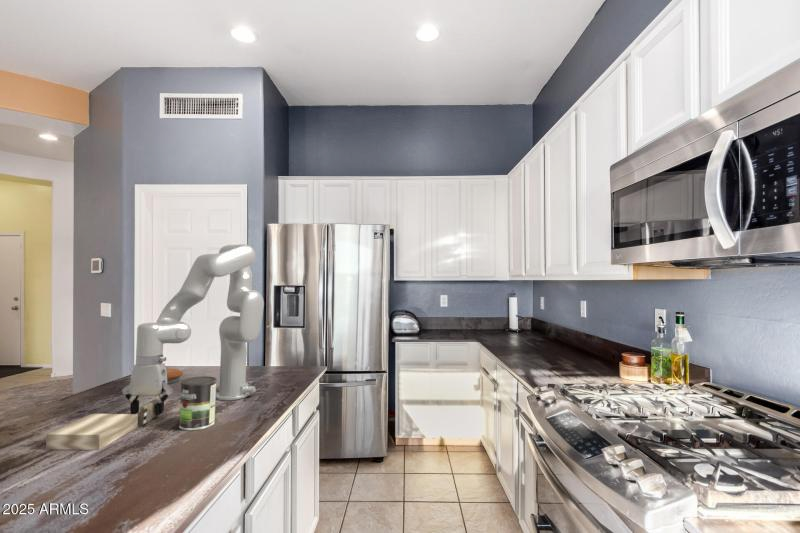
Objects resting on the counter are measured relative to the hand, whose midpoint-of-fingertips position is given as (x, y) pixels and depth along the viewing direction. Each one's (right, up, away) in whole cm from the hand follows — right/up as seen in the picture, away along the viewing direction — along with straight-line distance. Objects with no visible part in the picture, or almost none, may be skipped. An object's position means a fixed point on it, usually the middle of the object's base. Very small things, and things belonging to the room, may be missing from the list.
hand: (146, 413), depth 129 cm
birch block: (-5, -1, -16) cm, 17 cm away
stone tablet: (+2, -2, -2) cm, 3 cm away
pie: (-21, -3, +43) cm, 48 cm away
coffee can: (+19, -2, -5) cm, 20 cm away
